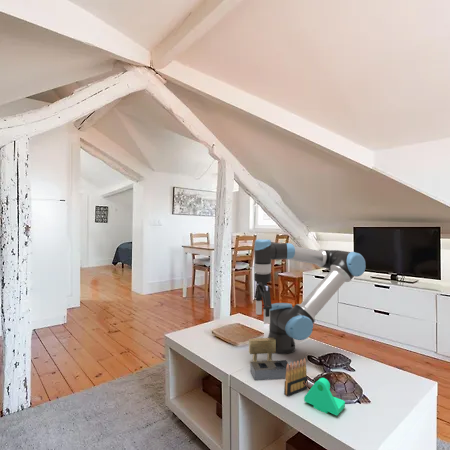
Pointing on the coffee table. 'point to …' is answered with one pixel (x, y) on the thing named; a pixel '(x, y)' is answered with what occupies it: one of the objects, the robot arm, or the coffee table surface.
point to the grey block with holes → (269, 370)
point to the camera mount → (324, 398)
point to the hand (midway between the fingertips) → (262, 318)
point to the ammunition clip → (295, 378)
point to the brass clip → (262, 347)
